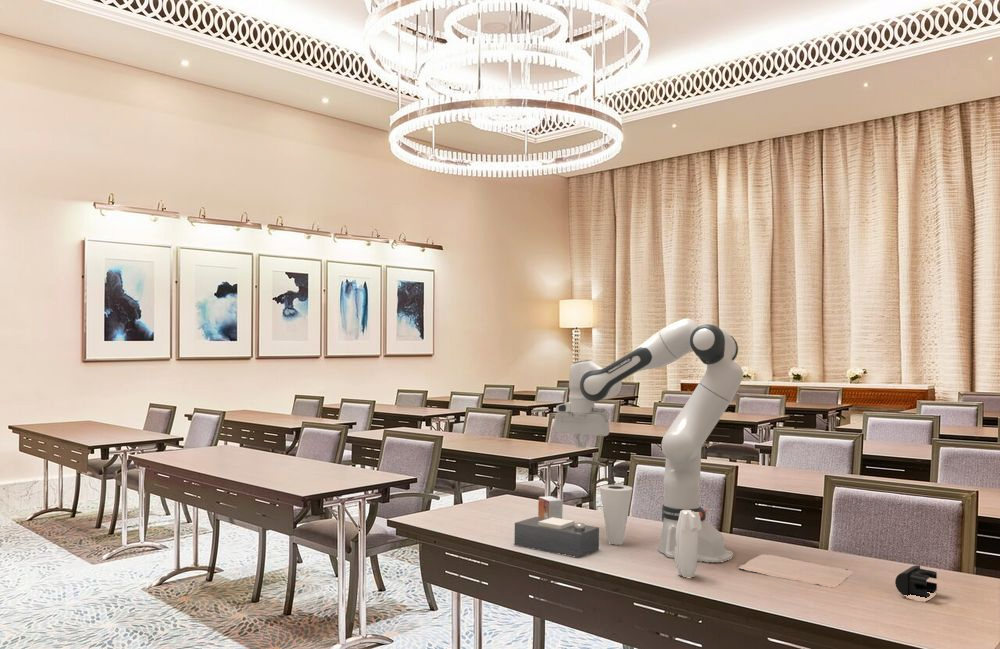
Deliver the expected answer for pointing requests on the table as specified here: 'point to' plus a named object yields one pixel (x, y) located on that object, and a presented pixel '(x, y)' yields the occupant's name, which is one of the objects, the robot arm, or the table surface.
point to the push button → (556, 523)
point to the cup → (615, 510)
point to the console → (557, 537)
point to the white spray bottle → (687, 542)
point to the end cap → (916, 582)
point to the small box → (550, 507)
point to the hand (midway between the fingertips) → (581, 447)
